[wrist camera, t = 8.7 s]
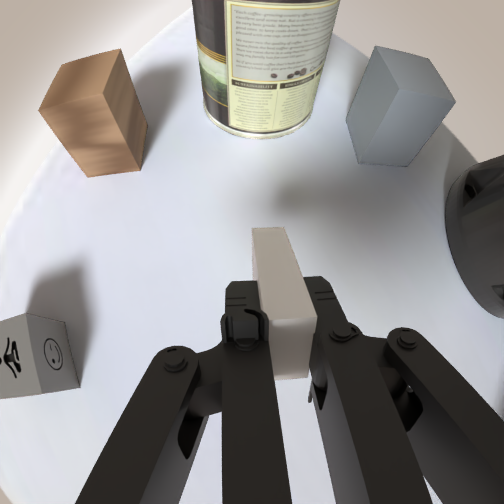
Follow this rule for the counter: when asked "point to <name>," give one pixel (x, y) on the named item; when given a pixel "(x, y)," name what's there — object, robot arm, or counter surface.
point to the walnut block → (97, 114)
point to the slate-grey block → (396, 107)
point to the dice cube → (34, 357)
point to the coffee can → (262, 62)
